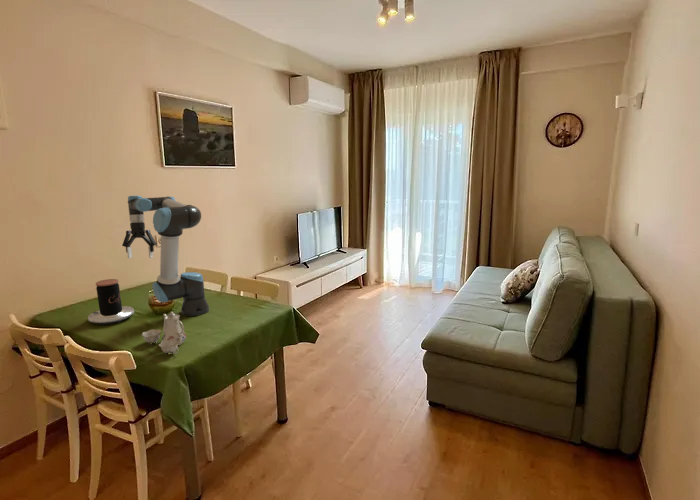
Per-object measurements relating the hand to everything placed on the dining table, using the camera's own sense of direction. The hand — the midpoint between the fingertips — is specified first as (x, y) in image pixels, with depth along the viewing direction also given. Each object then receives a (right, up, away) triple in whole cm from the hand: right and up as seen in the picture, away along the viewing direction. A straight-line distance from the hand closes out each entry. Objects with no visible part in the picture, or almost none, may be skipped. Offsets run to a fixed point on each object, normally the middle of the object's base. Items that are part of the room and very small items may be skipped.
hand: (140, 257), depth 233 cm
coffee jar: (-8, -31, -16) cm, 35 cm away
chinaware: (+39, -41, -48) cm, 74 cm away
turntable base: (-8, -34, -15) cm, 38 cm away
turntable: (-8, -32, -16) cm, 36 cm away
